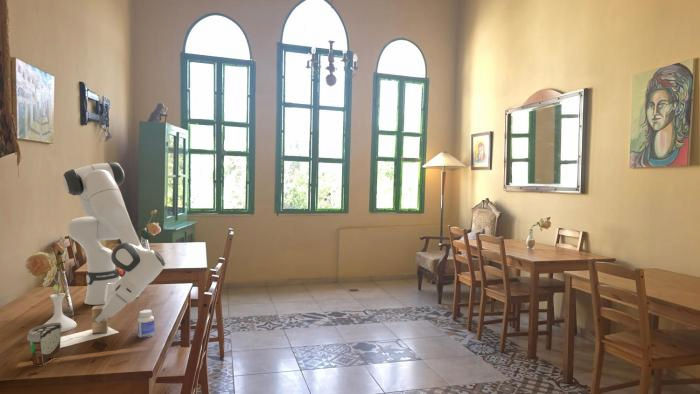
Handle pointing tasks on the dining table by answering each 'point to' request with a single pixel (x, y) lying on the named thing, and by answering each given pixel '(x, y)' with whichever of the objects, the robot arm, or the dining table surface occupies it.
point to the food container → (44, 342)
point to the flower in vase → (58, 304)
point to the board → (83, 337)
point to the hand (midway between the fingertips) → (98, 318)
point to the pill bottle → (145, 324)
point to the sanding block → (102, 325)
